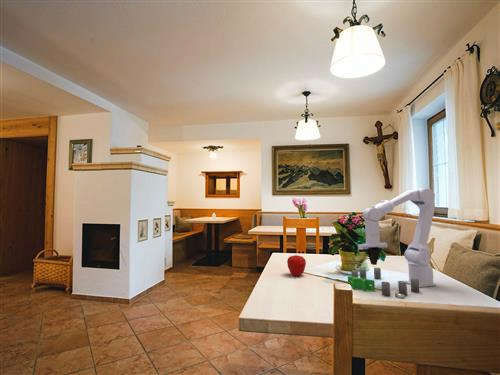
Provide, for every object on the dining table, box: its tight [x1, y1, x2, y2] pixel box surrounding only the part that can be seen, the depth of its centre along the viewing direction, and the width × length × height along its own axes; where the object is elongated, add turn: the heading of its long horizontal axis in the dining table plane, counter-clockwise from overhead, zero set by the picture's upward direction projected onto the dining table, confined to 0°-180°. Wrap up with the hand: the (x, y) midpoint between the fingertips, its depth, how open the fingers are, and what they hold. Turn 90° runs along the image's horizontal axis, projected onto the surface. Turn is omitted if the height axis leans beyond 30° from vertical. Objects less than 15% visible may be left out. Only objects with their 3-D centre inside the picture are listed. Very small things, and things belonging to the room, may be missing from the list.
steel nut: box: [394, 292, 406, 299], centre depth 105 cm, size 3×3×1 cm
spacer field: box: [350, 267, 421, 297], centre depth 119 cm, size 18×25×5 cm
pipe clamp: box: [347, 275, 376, 292], centre depth 116 cm, size 11×4×5 cm, turn 48°
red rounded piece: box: [286, 254, 307, 277], centre depth 139 cm, size 10×10×11 cm
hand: (373, 264), depth 120 cm, fingers closed
